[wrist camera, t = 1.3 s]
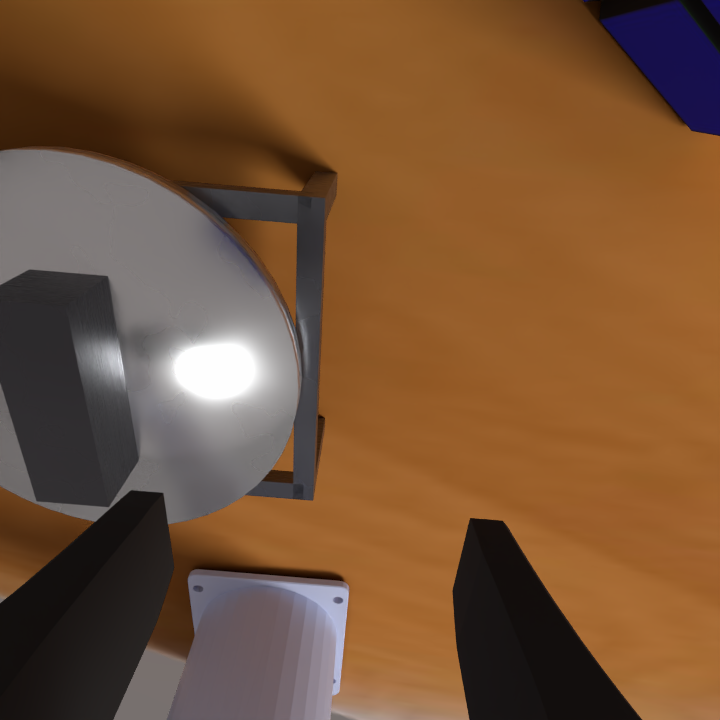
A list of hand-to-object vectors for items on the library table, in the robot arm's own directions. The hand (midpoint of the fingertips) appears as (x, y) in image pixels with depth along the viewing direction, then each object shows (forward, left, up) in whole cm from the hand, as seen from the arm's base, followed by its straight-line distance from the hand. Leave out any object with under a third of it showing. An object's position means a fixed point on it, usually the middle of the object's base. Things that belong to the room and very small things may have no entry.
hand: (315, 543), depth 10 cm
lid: (0, +7, -6) cm, 9 cm away
